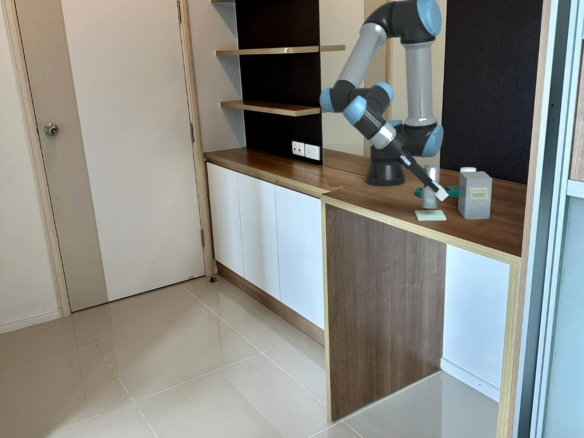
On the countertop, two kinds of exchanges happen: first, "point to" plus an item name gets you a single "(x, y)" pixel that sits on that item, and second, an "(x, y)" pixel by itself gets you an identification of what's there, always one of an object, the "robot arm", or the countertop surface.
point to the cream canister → (468, 169)
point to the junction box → (474, 195)
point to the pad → (429, 215)
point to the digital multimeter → (450, 190)
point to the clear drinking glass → (427, 196)
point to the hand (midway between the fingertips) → (443, 195)
